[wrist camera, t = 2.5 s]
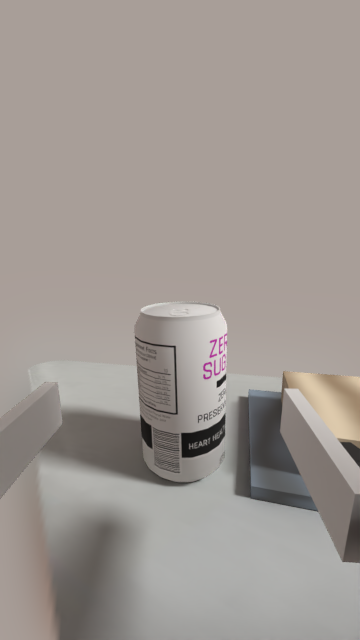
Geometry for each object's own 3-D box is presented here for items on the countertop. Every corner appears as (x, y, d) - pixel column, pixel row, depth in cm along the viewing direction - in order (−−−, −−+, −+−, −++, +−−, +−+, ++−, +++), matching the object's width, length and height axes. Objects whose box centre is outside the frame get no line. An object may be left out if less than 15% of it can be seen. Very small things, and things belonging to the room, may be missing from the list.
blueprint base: (417, 414, 31) (426, 375, 30) (578, 561, 16) (609, 494, 15) (248, 397, 36) (249, 362, 35) (250, 498, 21) (253, 443, 20)
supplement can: (148, 428, 30) (140, 301, 26) (218, 427, 30) (220, 299, 26) (136, 489, 22) (123, 320, 19) (232, 487, 22) (237, 317, 18)
